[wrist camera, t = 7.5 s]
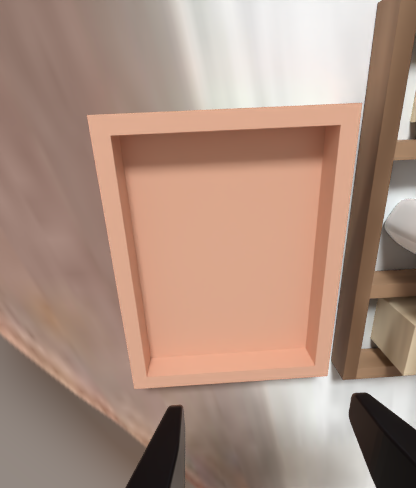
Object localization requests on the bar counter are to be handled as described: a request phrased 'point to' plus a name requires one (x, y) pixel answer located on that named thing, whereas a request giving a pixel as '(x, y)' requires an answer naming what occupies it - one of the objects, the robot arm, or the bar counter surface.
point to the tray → (227, 237)
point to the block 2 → (414, 111)
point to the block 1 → (397, 331)
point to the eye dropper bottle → (403, 224)
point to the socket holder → (375, 193)
